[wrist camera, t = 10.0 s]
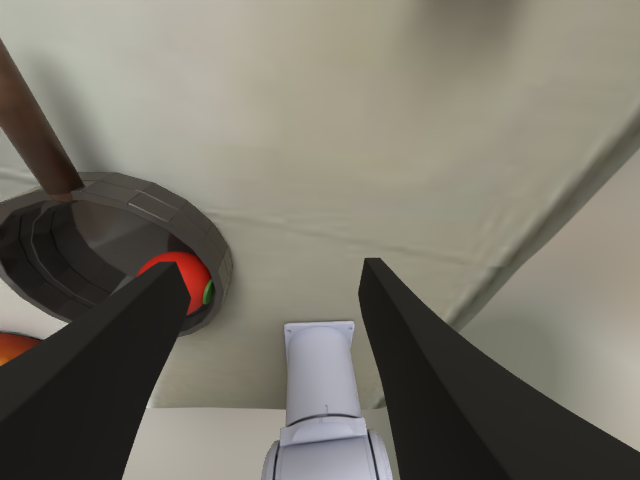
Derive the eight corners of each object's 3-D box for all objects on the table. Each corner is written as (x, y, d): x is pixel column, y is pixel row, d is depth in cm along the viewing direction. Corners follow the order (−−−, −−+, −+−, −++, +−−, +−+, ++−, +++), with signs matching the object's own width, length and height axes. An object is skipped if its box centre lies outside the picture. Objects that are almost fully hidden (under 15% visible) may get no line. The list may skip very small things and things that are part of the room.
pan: (244, 305, 24) (237, 336, 21) (97, 310, 23) (68, 344, 20) (213, 170, 16) (194, 191, 13) (-18, 167, 15) (-93, 190, 12)
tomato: (166, 270, 21) (223, 282, 22) (128, 323, 17) (199, 336, 18) (153, 230, 18) (222, 247, 18) (104, 286, 14) (192, 304, 15)
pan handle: (98, 196, 14) (78, 208, 13) (70, 195, 14) (47, 208, 13) (-34, -44, 9) (-92, -64, 7) (-83, -47, 9) (-151, -69, 7)
